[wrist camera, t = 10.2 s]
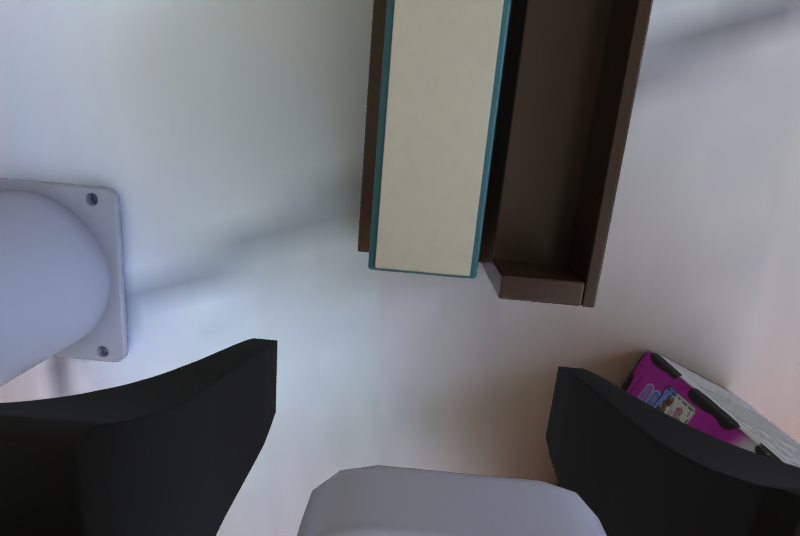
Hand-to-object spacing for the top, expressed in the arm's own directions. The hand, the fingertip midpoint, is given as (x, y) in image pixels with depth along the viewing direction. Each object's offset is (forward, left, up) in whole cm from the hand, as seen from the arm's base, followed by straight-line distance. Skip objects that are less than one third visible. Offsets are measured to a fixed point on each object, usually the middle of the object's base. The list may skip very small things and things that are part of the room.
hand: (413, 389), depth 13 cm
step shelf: (+2, +8, -10) cm, 13 cm away
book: (0, +8, -8) cm, 12 cm away
